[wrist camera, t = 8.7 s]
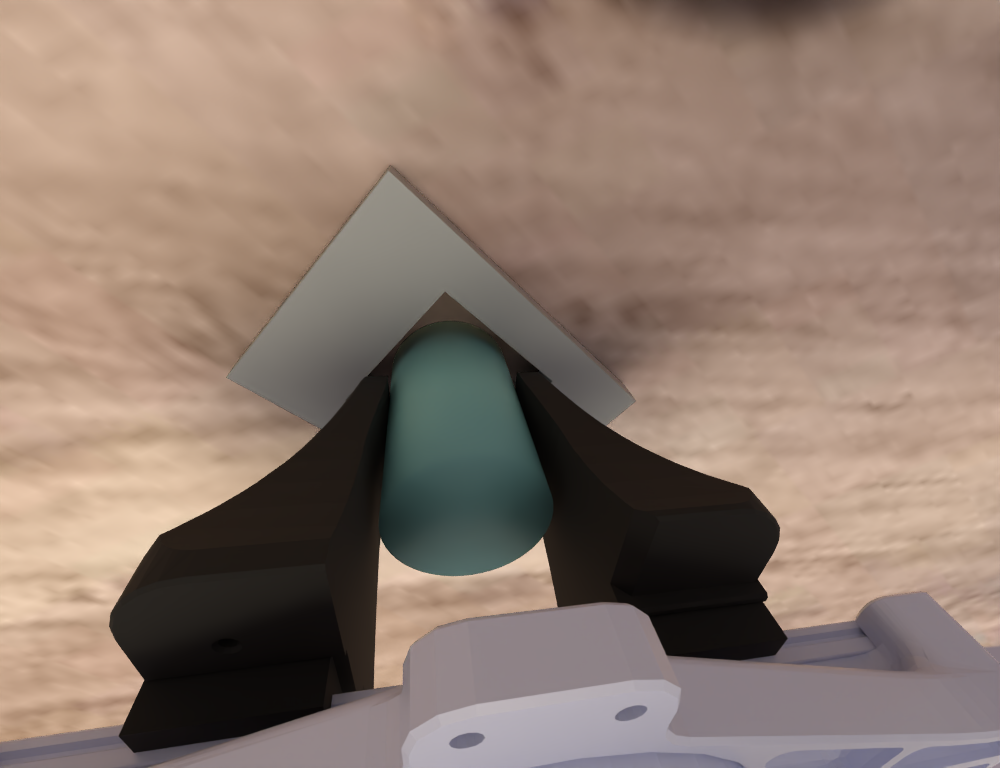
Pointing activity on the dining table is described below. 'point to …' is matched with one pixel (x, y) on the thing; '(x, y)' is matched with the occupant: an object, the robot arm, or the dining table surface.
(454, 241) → the socket block
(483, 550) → the dowel
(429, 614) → the dining table surface
